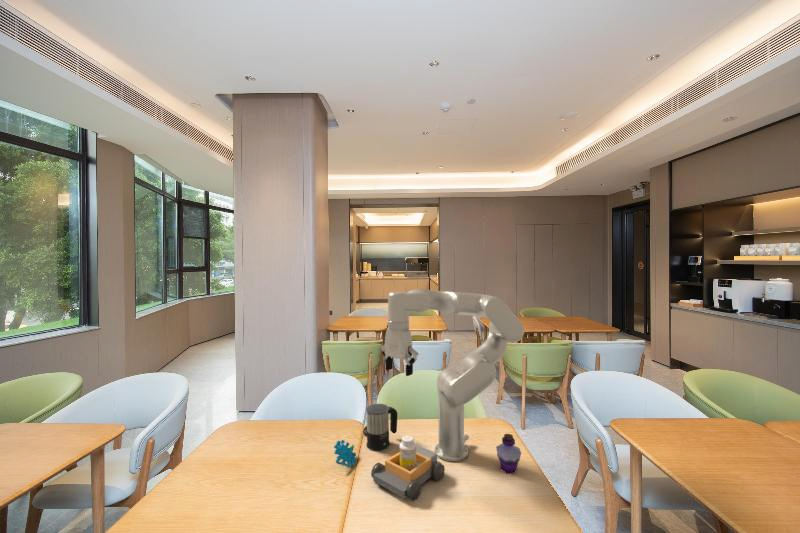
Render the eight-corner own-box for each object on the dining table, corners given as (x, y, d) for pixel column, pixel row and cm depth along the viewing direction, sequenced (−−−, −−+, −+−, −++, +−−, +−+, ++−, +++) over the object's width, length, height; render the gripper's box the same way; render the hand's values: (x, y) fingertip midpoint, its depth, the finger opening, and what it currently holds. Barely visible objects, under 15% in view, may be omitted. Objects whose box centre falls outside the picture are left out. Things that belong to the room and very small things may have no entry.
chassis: (408, 457, 135) (407, 439, 135) (446, 475, 124) (446, 456, 124) (369, 482, 120) (368, 463, 120) (408, 505, 109) (408, 484, 109)
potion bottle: (499, 459, 133) (499, 427, 133) (523, 466, 129) (523, 433, 129) (492, 472, 126) (492, 437, 125) (518, 479, 121) (518, 444, 121)
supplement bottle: (406, 461, 126) (406, 432, 126) (419, 467, 123) (419, 437, 122) (396, 469, 122) (396, 439, 122) (409, 475, 118) (409, 444, 118)
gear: (347, 469, 125) (331, 444, 128) (336, 479, 126) (321, 454, 130) (363, 457, 135) (348, 434, 138) (353, 467, 136) (338, 443, 140)
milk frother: (380, 454, 138) (379, 415, 137) (348, 442, 146) (348, 406, 146) (400, 438, 150) (400, 402, 149) (370, 428, 158) (370, 394, 158)
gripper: (374, 324, 135) (375, 369, 136) (410, 330, 124) (410, 380, 124) (388, 321, 141) (388, 365, 141) (423, 327, 129) (424, 374, 130)
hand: (399, 372), depth 133 cm, fingers open, 9 cm apart
